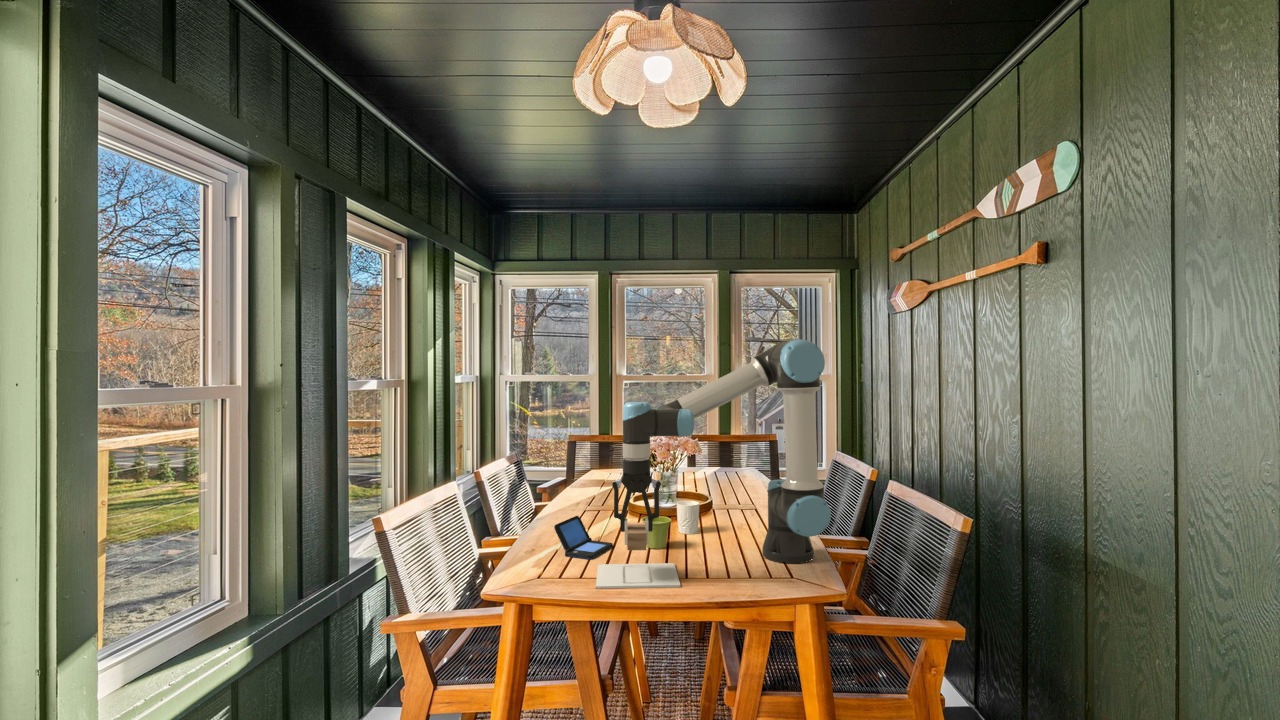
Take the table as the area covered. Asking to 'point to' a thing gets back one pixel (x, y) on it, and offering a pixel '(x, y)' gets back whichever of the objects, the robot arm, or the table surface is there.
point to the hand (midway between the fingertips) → (636, 543)
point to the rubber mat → (637, 576)
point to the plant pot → (658, 532)
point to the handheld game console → (579, 540)
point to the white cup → (688, 517)
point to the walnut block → (636, 536)
